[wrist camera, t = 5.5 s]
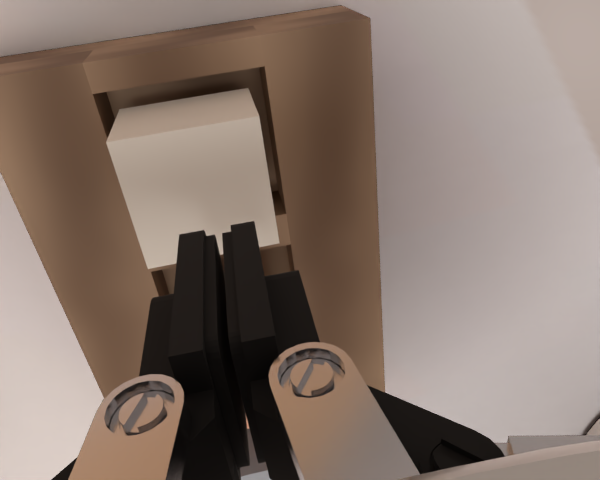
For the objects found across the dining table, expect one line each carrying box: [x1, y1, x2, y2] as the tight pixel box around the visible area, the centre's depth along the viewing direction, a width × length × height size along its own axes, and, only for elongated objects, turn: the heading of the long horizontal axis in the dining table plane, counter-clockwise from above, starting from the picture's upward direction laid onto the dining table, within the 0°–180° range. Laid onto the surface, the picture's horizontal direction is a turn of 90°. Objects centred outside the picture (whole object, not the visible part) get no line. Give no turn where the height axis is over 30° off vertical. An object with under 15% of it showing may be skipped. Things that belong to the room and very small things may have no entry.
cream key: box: [106, 88, 279, 269], centre depth 16 cm, size 4×4×3 cm
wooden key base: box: [0, 5, 385, 399], centre depth 22 cm, size 12×20×4 cm, turn 7°
